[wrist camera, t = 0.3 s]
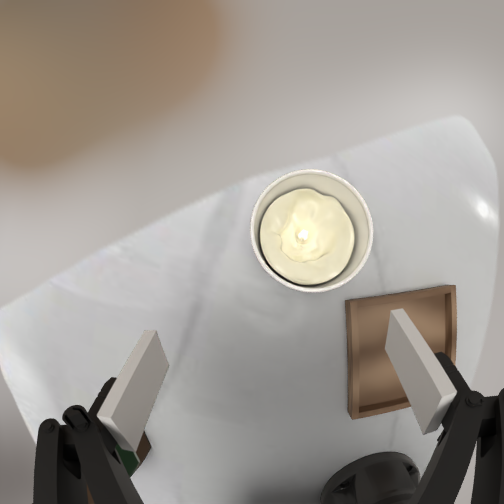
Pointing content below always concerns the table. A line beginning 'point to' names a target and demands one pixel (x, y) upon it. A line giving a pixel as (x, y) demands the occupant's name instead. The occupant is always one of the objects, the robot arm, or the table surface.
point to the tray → (374, 340)
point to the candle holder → (311, 230)
